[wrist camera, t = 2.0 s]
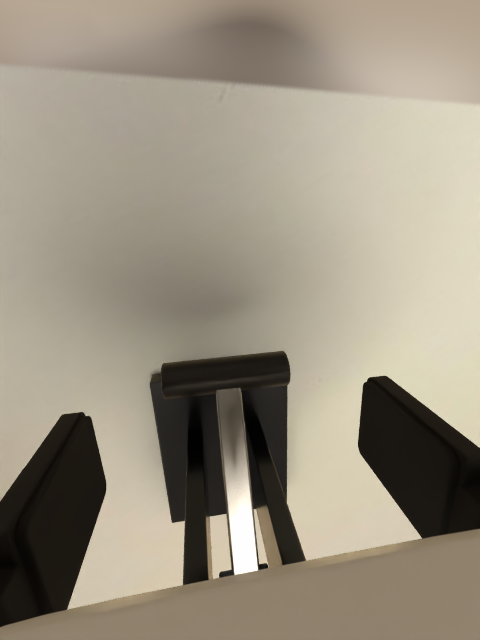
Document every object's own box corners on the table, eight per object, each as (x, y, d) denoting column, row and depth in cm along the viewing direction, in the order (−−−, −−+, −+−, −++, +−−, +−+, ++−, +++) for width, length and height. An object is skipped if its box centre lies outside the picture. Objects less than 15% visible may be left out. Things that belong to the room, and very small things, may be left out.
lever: (166, 363, 14) (158, 363, 12) (277, 351, 15) (290, 349, 13) (186, 650, 13) (182, 715, 10) (310, 622, 13) (332, 678, 11)
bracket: (152, 374, 20) (88, 603, 8) (282, 360, 21) (400, 542, 9) (172, 509, 24) (151, 802, 12) (282, 491, 25) (366, 742, 13)
